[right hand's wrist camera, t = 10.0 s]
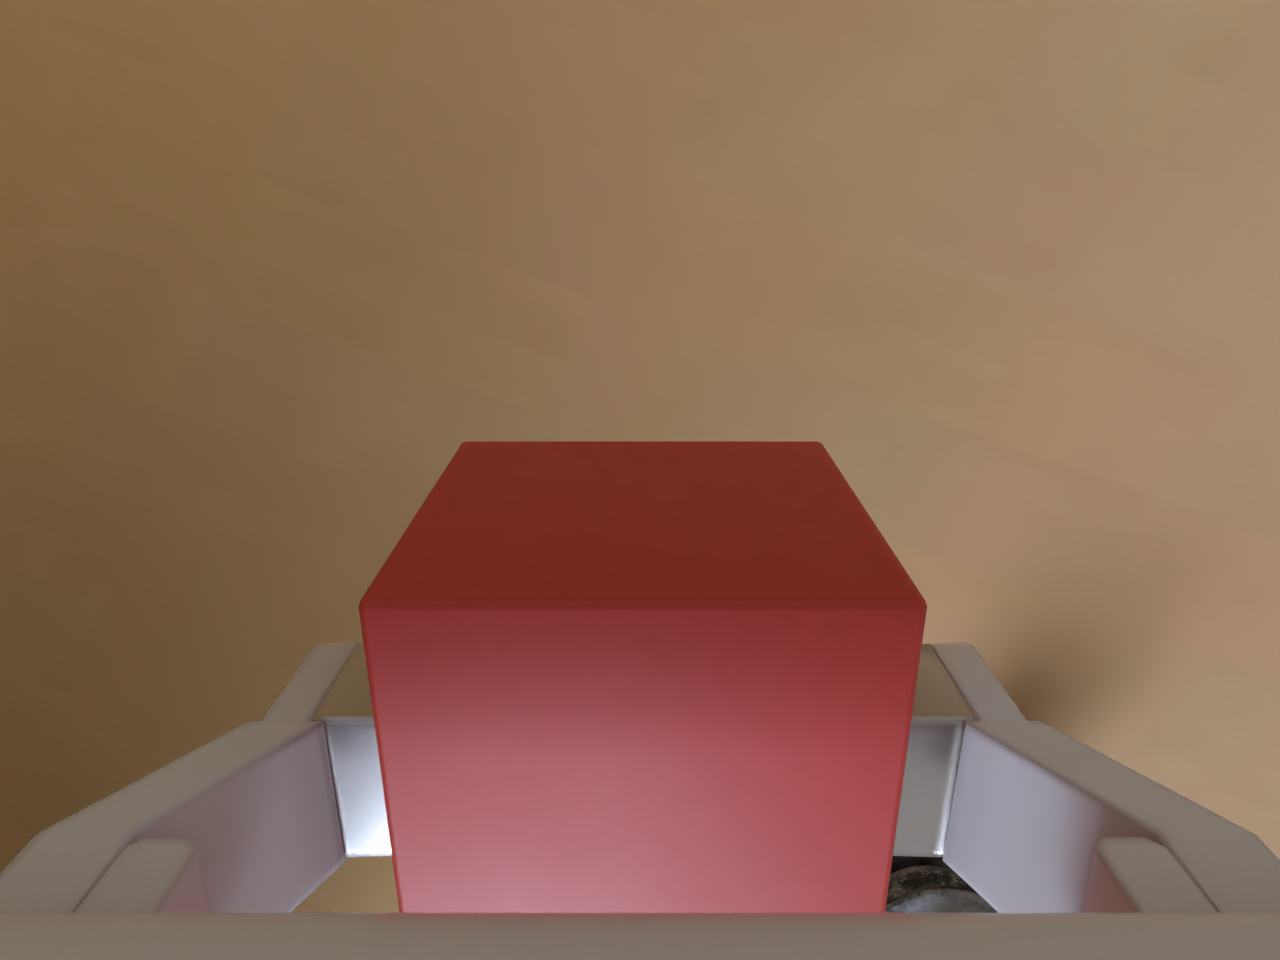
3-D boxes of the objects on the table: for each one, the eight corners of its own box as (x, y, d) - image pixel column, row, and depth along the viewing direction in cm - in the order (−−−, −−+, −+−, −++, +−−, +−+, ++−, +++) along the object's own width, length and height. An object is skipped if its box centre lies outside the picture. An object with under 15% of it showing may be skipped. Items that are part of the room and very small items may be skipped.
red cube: (821, 439, 11) (932, 601, 7) (797, 746, 13) (872, 1023, 9) (461, 439, 11) (353, 601, 7) (485, 746, 13) (411, 1024, 9)
